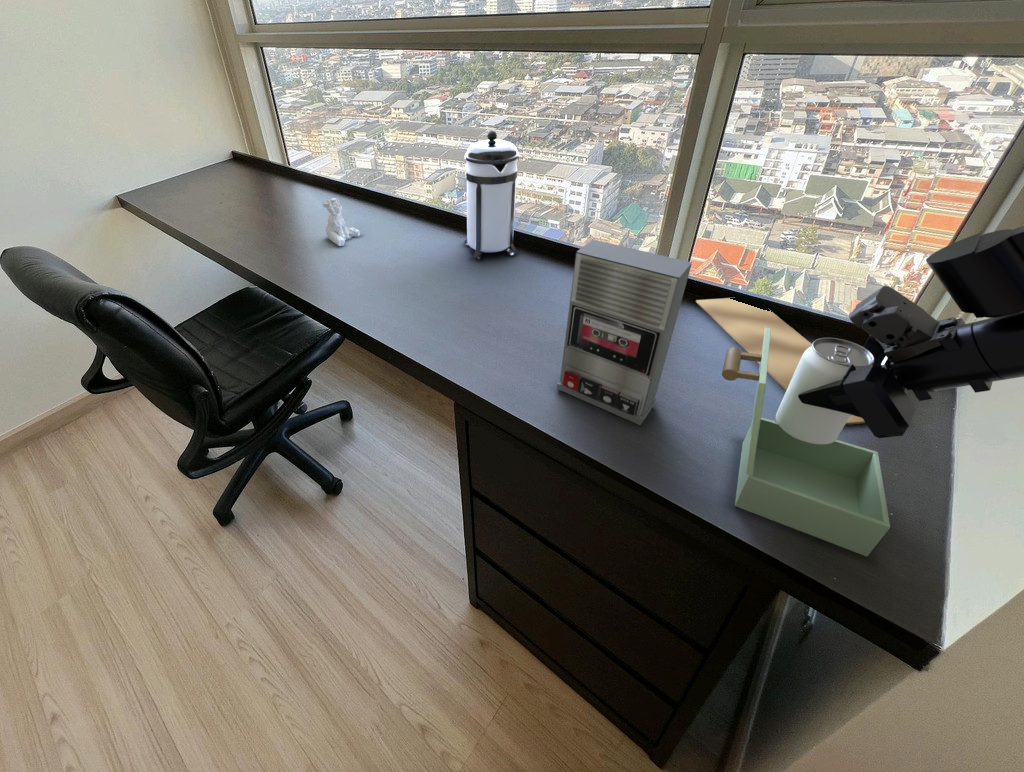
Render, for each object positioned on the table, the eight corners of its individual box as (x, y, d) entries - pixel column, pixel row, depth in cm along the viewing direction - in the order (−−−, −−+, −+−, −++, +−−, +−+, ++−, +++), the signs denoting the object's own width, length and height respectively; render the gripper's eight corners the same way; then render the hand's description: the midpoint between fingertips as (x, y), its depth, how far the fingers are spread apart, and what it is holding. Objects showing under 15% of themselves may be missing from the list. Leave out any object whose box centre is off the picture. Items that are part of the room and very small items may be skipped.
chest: (858, 481, 62) (878, 451, 59) (867, 556, 54) (890, 527, 51) (742, 443, 68) (754, 415, 65) (734, 506, 60) (748, 477, 57)
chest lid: (771, 328, 59) (730, 324, 61) (766, 383, 51) (719, 377, 53) (758, 413, 65) (722, 407, 67) (752, 475, 57) (711, 466, 59)
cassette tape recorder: (555, 390, 80) (572, 253, 66) (572, 372, 84) (591, 238, 70) (639, 427, 72) (678, 280, 58) (654, 405, 76) (693, 262, 62)
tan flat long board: (902, 420, 70) (904, 418, 70) (821, 426, 70) (822, 424, 70) (752, 297, 100) (753, 296, 100) (695, 301, 100) (695, 300, 100)
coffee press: (530, 244, 129) (538, 126, 113) (498, 266, 119) (502, 140, 103) (477, 231, 139) (477, 120, 122) (443, 251, 128) (439, 133, 112)
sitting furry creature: (341, 247, 134) (334, 206, 128) (318, 242, 138) (310, 202, 132) (361, 235, 141) (356, 195, 134) (339, 230, 145) (332, 191, 138)
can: (768, 430, 61) (802, 354, 54) (781, 403, 65) (814, 329, 58) (831, 455, 57) (875, 376, 51) (841, 425, 61) (883, 348, 54)
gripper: (955, 247, 51) (797, 301, 64) (918, 315, 41) (740, 362, 54) (1019, 337, 50) (845, 373, 63) (998, 429, 40) (797, 449, 53)
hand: (808, 386), depth 58 cm, fingers closed on can, 6 cm apart
